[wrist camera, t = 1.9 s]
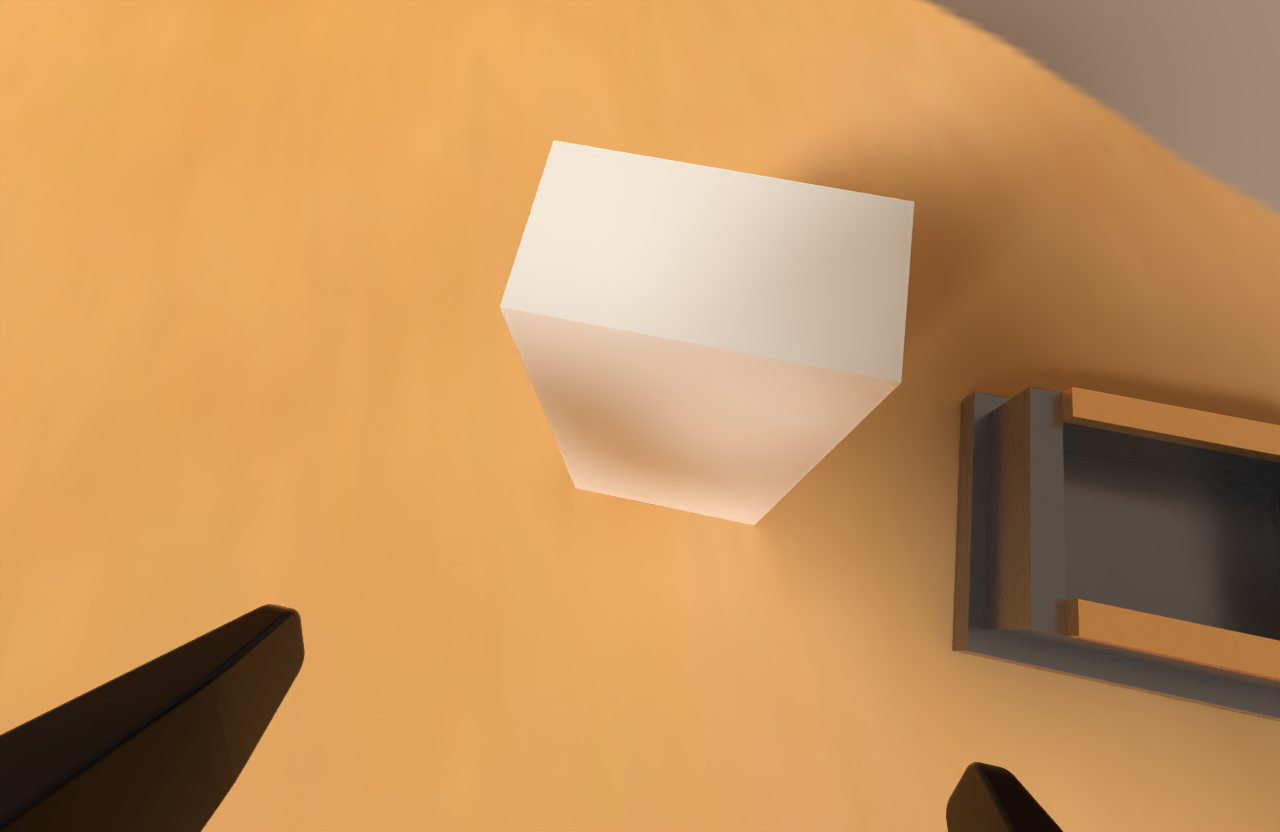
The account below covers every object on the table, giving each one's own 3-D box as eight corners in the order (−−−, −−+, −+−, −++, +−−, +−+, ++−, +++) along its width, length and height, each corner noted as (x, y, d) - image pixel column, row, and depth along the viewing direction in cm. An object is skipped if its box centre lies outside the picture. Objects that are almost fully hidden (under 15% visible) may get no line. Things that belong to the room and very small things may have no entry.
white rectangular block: (754, 525, 22) (900, 382, 10) (575, 488, 22) (500, 306, 10) (767, 432, 23) (914, 202, 11) (597, 399, 24) (554, 140, 11)
